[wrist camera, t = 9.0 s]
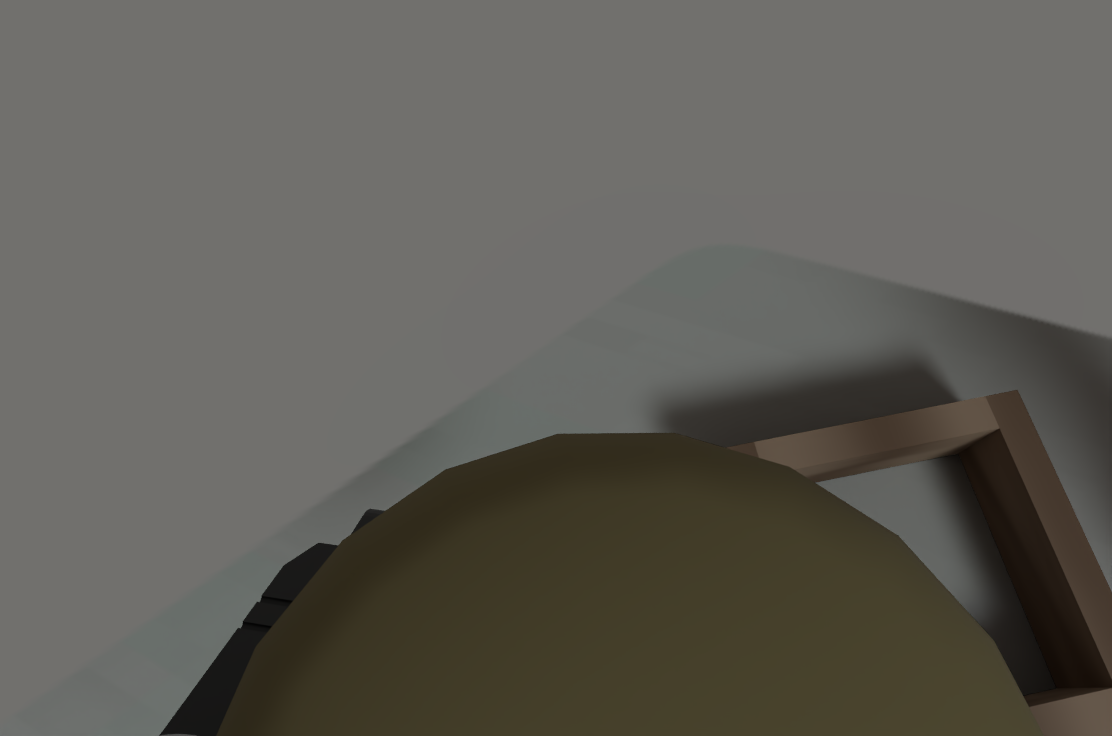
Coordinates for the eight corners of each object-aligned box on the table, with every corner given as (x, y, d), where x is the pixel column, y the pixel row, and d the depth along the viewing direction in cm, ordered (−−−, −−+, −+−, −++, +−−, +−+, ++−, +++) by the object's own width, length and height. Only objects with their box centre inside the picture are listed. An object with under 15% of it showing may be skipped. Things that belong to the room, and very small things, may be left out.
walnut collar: (795, 790, 25) (824, 802, 22) (705, 472, 29) (720, 448, 26) (1106, 718, 26) (1172, 721, 23) (975, 418, 30) (1017, 389, 27)
